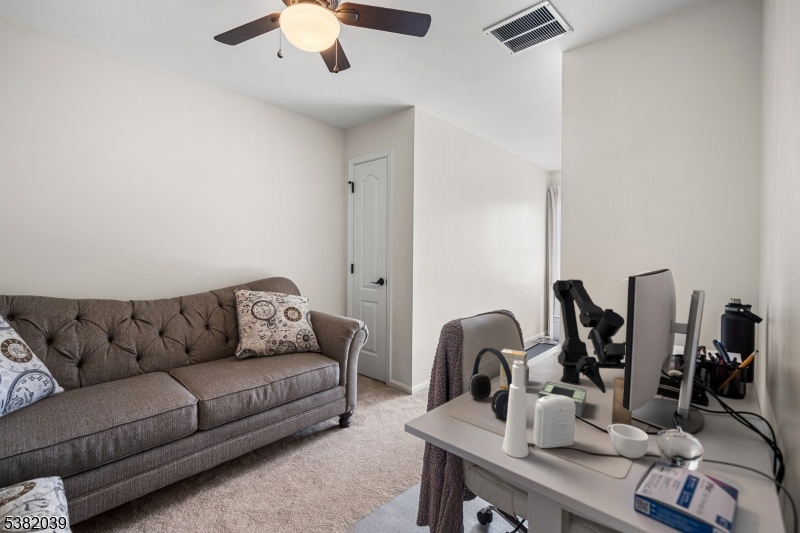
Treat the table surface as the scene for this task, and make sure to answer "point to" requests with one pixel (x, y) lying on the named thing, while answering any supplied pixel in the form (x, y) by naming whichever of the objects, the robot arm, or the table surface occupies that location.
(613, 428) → the teacup
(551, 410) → the photo printer
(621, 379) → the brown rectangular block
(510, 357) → the supplement box
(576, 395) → the money box
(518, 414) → the cosmetic bottle
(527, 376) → the pill bottle
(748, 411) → the table surface
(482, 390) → the headphones
